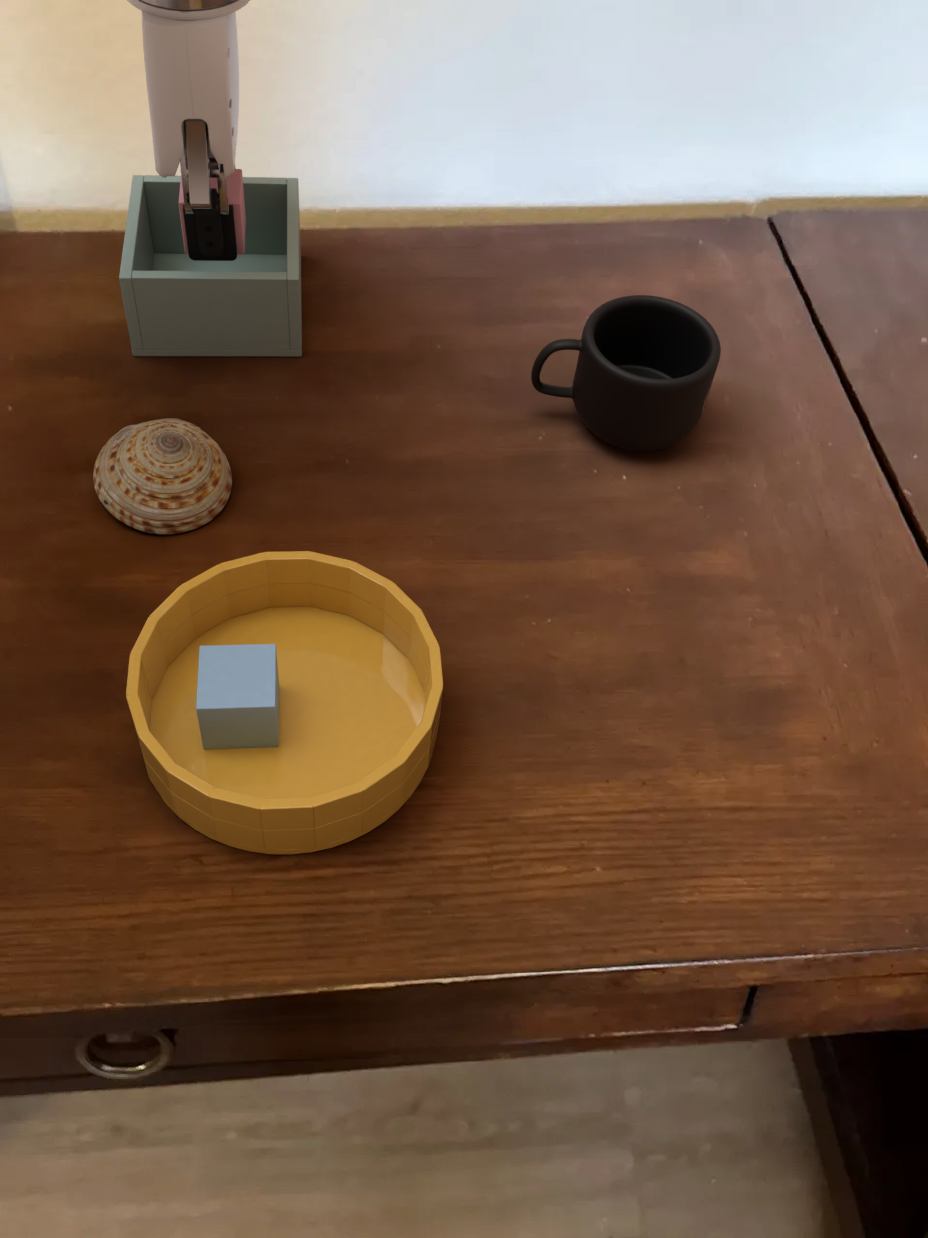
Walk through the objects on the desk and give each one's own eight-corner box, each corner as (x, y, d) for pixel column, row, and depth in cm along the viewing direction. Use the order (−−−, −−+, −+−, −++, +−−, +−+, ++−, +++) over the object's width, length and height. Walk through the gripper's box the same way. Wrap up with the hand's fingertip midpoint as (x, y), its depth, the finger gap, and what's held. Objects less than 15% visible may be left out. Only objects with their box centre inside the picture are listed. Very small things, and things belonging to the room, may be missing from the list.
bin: (132, 356, 84) (118, 277, 79) (145, 253, 91) (132, 174, 86) (301, 356, 85) (298, 279, 80) (301, 254, 92) (298, 177, 87)
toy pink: (184, 254, 82) (178, 202, 79) (187, 218, 85) (181, 167, 81) (244, 254, 83) (240, 203, 79) (245, 219, 85) (241, 168, 82)
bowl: (128, 862, 61) (113, 815, 57) (150, 608, 71) (139, 553, 67) (447, 848, 63) (454, 801, 59) (426, 602, 73) (431, 548, 69)
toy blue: (203, 749, 65) (195, 709, 62) (206, 687, 67) (199, 645, 64) (278, 747, 65) (275, 706, 62) (279, 685, 68) (275, 643, 65)
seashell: (172, 389, 79) (233, 418, 73) (198, 465, 82) (258, 498, 77) (58, 441, 75) (113, 475, 70) (90, 518, 79) (145, 557, 73)
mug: (688, 376, 87) (711, 295, 81) (705, 467, 82) (732, 387, 76) (522, 369, 86) (534, 286, 81) (528, 460, 81) (541, 378, 75)
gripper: (130, -106, 74) (166, 165, 88) (105, 35, 64) (150, 315, 78) (255, -101, 74) (270, 167, 89) (250, 39, 64) (268, 315, 79)
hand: (214, 234), depth 83 cm, fingers closed on toy pink, 4 cm apart
